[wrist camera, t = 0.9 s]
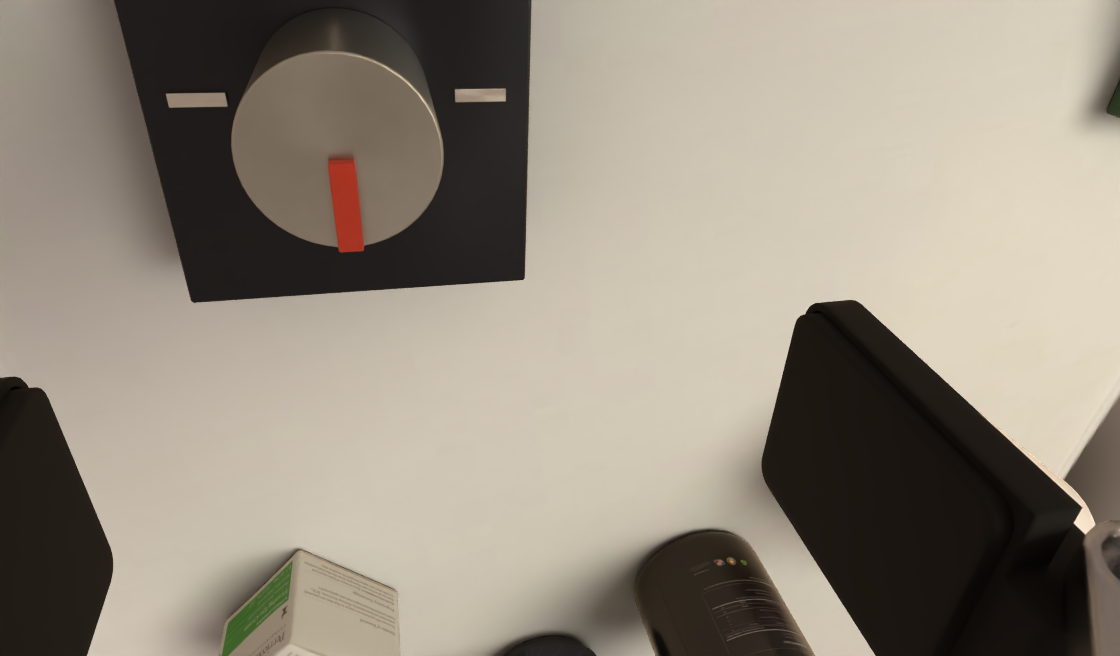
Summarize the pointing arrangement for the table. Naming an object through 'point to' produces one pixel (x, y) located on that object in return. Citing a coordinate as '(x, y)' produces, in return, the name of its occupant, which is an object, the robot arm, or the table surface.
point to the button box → (1115, 104)
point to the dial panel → (268, 250)
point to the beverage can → (551, 647)
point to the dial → (338, 131)
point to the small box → (315, 614)
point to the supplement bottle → (714, 601)
